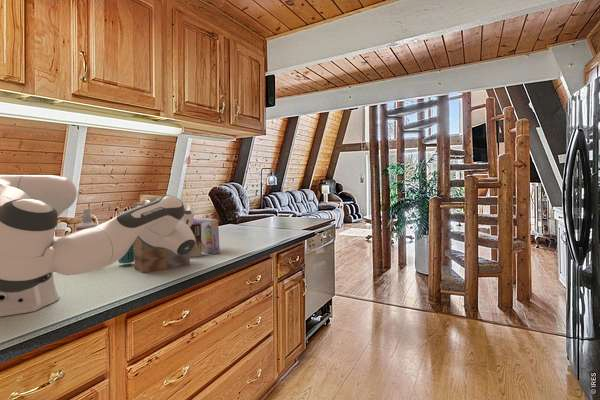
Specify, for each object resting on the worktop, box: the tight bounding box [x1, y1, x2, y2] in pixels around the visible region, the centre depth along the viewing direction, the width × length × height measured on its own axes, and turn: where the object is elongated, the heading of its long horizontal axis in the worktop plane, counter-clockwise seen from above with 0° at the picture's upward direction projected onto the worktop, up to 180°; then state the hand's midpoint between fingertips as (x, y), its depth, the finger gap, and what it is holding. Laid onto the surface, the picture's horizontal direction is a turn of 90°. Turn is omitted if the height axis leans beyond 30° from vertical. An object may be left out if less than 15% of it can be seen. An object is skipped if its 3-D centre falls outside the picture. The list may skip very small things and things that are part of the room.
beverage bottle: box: [118, 242, 134, 264], centre depth 148 cm, size 6×7×20 cm
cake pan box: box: [193, 216, 221, 255], centre depth 176 cm, size 19×5×18 cm, turn 48°
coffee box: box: [190, 223, 203, 258], centre depth 166 cm, size 9×6×16 cm
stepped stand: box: [132, 201, 191, 274], centre depth 145 cm, size 20×10×28 cm, turn 132°
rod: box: [139, 194, 161, 203], centre depth 139 cm, size 3×20×3 cm, turn 42°
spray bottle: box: [75, 208, 99, 232], centre depth 145 cm, size 8×8×25 cm
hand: (159, 201), depth 133 cm, fingers open, 8 cm apart
